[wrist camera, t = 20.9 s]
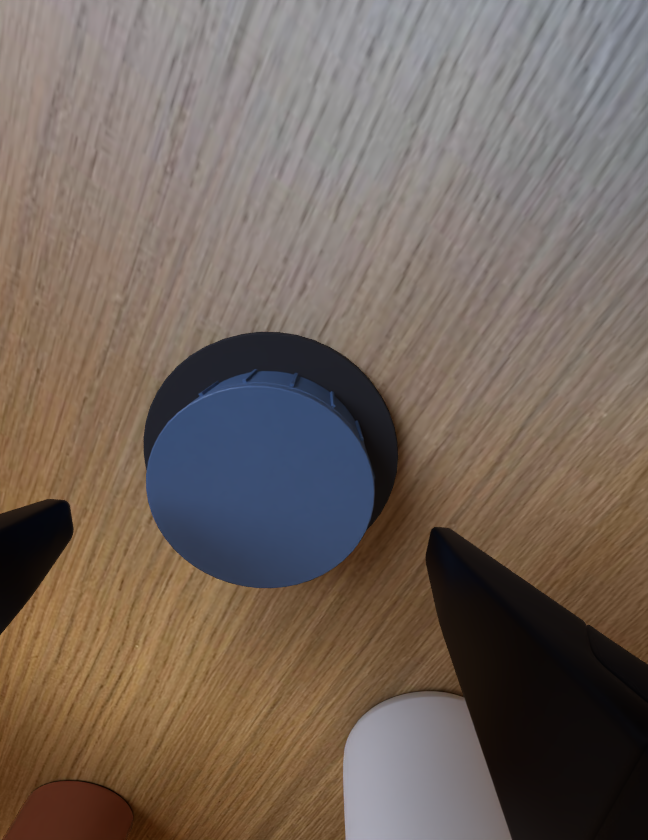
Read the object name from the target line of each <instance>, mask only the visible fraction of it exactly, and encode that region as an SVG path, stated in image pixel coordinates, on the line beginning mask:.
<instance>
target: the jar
mask: <svg viewBox="0 0 648 840" xmlns="http://www.w3.org/2000/svg"><path fill="white" fill-rule="evenodd" d="M132 825H133V813H132V810H131V808H130V807H129V805H128V804H127V803H126V802H125V801H124V800H123V799H122V798H121V797H120V796H118V795H117V794H115V793H114V792H112V791H110V790H108V789H106V788H103V787H101V786H98V785H95V784H91V783H86V782H81V781H57V782H52V783H48V784H45V785H42V786H40V787H38V788H37V789H35V790H34V791H33V792H32V793H31V794H30V795H29V796H28V797H27V799H26V801H25V802H24V804H23V806H22V807H21V809H20V810H19V812H18V814H17V815H16V817H15V819H14V820H13V822H12V824H11V825H10V827H9V829H8V830H7V832H6V834H5V835H4V837H3V839H2V840H127V839H128V836H129V834H130V831H131V828H132Z"/></svg>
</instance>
